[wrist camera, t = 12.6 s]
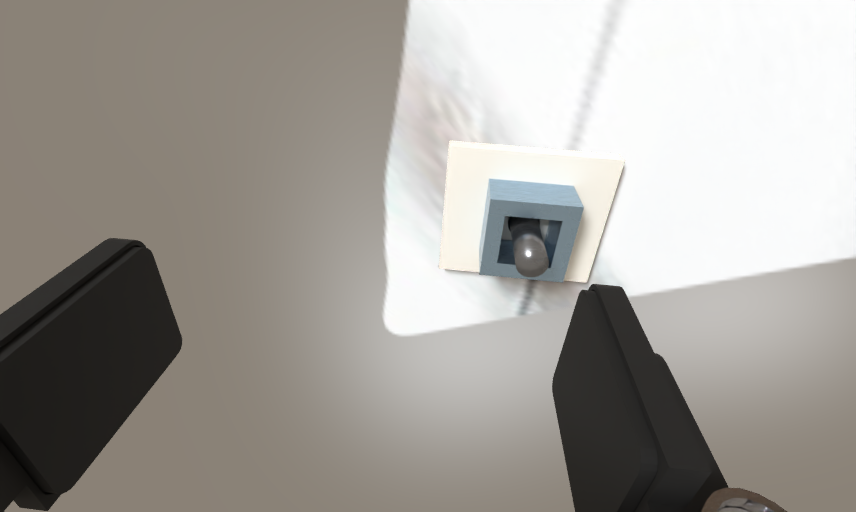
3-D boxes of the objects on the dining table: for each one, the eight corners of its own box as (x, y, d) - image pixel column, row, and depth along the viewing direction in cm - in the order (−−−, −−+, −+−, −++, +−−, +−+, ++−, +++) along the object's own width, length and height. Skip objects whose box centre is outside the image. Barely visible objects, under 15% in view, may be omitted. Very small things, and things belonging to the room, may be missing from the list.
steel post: (541, 207, 37) (554, 250, 31) (535, 234, 38) (546, 280, 32) (510, 204, 37) (516, 247, 31) (505, 231, 38) (510, 277, 33)
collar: (573, 185, 36) (584, 207, 32) (555, 256, 39) (563, 282, 36) (488, 178, 36) (490, 199, 33) (478, 249, 40) (479, 274, 36)
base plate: (619, 154, 35) (625, 160, 34) (583, 273, 42) (586, 282, 41) (449, 140, 36) (448, 146, 35) (439, 259, 43) (438, 268, 41)
